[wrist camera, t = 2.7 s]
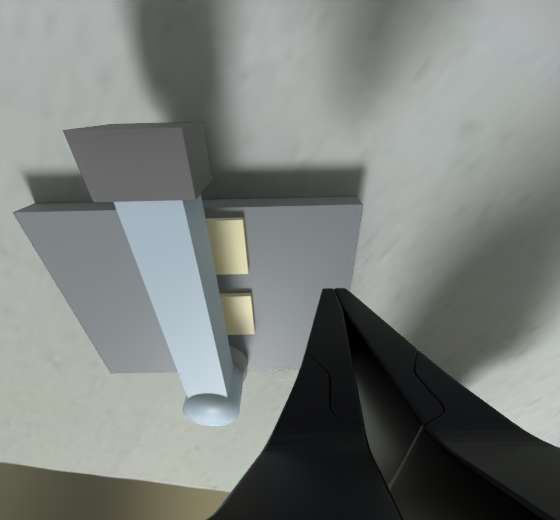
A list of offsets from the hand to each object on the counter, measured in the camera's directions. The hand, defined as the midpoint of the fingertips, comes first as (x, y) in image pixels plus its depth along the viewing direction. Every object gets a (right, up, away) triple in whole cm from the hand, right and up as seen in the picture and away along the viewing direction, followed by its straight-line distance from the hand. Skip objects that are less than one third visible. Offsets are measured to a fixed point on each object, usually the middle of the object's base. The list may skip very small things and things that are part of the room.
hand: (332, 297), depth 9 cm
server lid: (-6, -1, +6) cm, 9 cm away
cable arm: (-6, -1, +4) cm, 7 cm away
